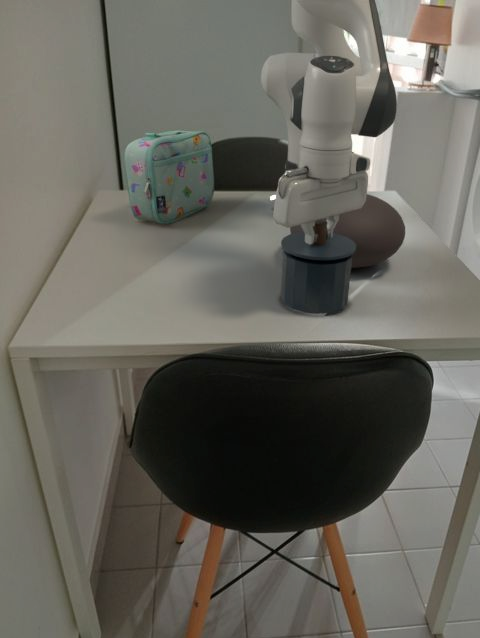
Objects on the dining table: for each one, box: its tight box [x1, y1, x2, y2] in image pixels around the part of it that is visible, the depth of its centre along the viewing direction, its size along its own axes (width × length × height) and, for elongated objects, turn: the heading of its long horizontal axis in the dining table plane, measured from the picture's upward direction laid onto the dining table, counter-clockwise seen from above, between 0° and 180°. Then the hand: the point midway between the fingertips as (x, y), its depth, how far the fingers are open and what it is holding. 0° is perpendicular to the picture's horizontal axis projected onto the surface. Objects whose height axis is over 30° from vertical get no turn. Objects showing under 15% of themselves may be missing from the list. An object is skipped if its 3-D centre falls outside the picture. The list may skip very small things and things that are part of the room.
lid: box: [280, 220, 356, 260], centre depth 110 cm, size 14×14×5 cm
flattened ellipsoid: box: [289, 193, 406, 269], centre depth 131 cm, size 25×25×15 cm
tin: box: [280, 250, 353, 317], centre depth 114 cm, size 13×13×10 cm
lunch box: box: [123, 129, 215, 225], centre depth 155 cm, size 27×10×21 cm, turn 150°
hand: (318, 240), depth 110 cm, fingers closed on lid, 2 cm apart
